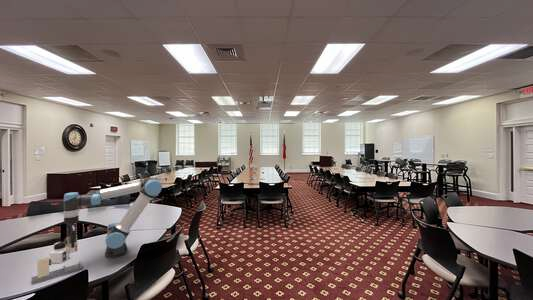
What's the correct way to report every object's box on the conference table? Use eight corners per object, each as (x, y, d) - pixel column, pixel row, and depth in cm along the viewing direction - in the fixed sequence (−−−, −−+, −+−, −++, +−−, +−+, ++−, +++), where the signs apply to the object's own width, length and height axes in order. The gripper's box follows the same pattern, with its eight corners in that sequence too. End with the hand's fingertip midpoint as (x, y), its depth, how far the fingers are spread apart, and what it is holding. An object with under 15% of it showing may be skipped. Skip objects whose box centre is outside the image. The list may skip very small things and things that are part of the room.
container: (69, 258, 169) (69, 240, 169) (60, 263, 162) (60, 245, 161) (59, 258, 169) (58, 240, 169) (49, 263, 161) (49, 245, 161)
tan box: (75, 249, 156) (75, 234, 156) (77, 251, 154) (77, 236, 154) (64, 252, 152) (63, 237, 151) (65, 254, 149) (65, 239, 149)
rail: (81, 265, 159) (81, 248, 158) (83, 269, 154) (83, 251, 154) (31, 280, 141) (31, 261, 141) (32, 284, 137) (31, 264, 137)
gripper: (82, 217, 150) (82, 253, 151) (75, 212, 161) (75, 245, 161) (67, 220, 144) (67, 257, 145) (61, 215, 155) (61, 249, 156)
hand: (71, 251), depth 153 cm, fingers closed on tan box, 4 cm apart
